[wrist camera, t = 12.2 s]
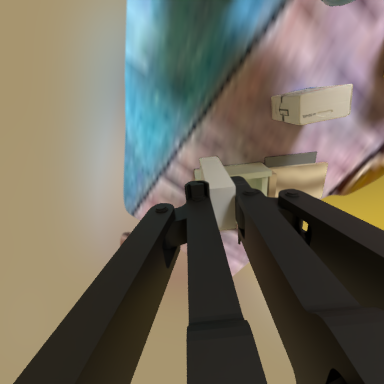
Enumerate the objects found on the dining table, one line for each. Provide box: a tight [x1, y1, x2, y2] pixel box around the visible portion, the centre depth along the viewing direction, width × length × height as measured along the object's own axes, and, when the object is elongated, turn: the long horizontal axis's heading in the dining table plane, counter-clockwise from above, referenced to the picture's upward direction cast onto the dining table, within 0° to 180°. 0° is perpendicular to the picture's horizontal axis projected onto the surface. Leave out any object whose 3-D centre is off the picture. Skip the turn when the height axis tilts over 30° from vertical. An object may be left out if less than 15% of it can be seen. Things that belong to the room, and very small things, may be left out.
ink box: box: [271, 84, 353, 125], centre depth 37 cm, size 9×5×12 cm, turn 102°
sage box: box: [194, 162, 272, 223], centre depth 47 cm, size 12×16×7 cm
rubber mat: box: [265, 152, 317, 168], centre depth 49 cm, size 14×12×1 cm
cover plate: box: [267, 162, 328, 198], centre depth 48 cm, size 9×15×4 cm, turn 96°
